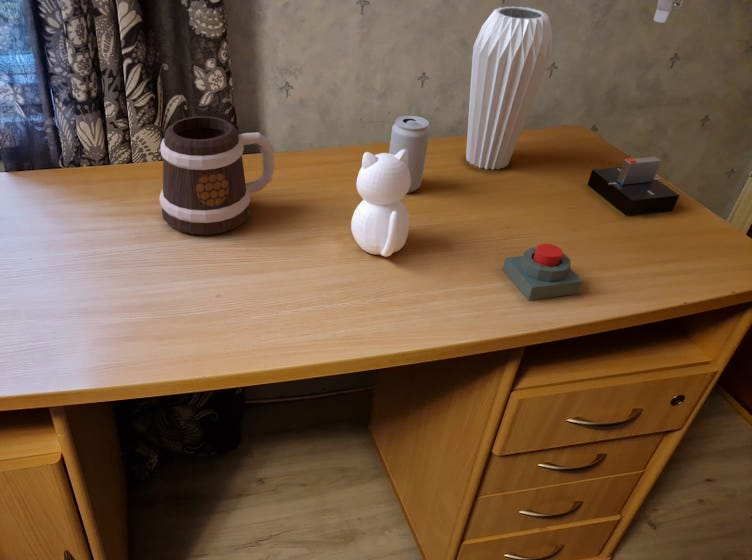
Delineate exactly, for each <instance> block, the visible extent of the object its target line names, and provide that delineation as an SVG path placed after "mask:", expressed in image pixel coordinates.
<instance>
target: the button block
mask: <svg viewBox="0 0 752 560" xmlns="http://www.w3.org/2000/svg"><path fill="white" fill-rule="evenodd" d="M536 248H537V246H533V247H529V248H527V249H526V250H525V251H523V252H522V255H517V256H507V257H505V258H504V262H503V266H502V269H501V270H502V272H503V273H504V274H505V275H506V276H507V277H508V279H509V280H510V281H511V282H512V283H513V284H514V285H515V287H516V289H518V290H519V292H520V293H521V294H522V295H523V296H524V298H526V299H527V301H534V300H541V299H548V298H557V297H565V296H572V295H579V293H580V292H581V288H582V286H583V283H584V280H583V279H581V277H580V276H579V275H577V273H576V272H575V271H574V270H572V269H571V268H572V267H571V264H572V263H571V258H569V257H568V255H567V254H565V253H564V252H563V254H562V257H561V260H560V263H559V265H558V266H554V267H548V266H542V265H540V264H538V263H536V262H535V261H534V259H533V258H534V254H535V251H536Z"/></svg>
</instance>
